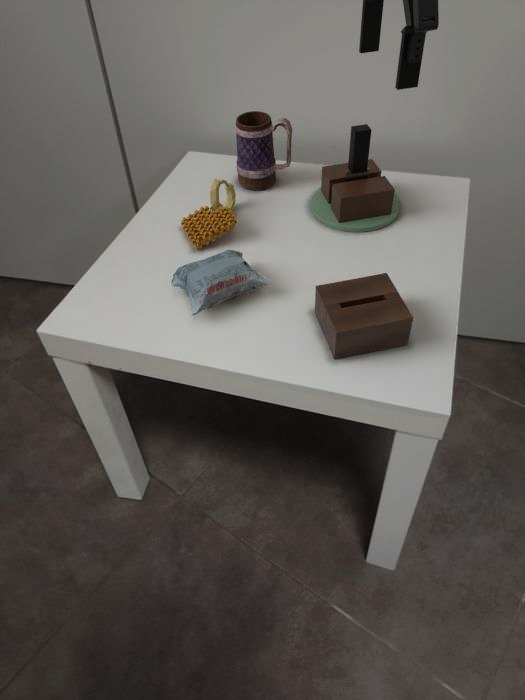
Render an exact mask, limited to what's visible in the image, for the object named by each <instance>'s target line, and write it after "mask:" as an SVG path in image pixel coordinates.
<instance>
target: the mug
mask: <svg viewBox="0 0 525 700" xmlns="http://www.w3.org/2000/svg"><path fill="white" fill-rule="evenodd" d="M278 127H282V128H283V129H284V130H285V132H286V135H287V136H286V162H285V163H277V162H276V157H275V147H274V135H273V132H276V131H277V128H278ZM235 135H236V157H237V158H236V171H237V180H238V184H239V185H240V186H241V187H242V188H244V189H246V190H250V191H263V190H266V189H268V188H270V187H271V186H273V185H274V184H275V183H276V180H277V174H276V172H277V171H284V170H286V169H287V168H289V167H290V166H291V163H292V138H293V126H292V123H291V121H290V120H289V119H287V118H286V117H284V118H279V119H278V120H275V122H274V124H273V121H272V117H271V115H270V114H269V113H267V112H264V111H260V110H252V111H246V112H243V113H241V114H239V115H238V116H237V117H236V119H235Z"/></svg>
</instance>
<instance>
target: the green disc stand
mask: <svg viewBox="0 0 525 700" xmlns="http://www.w3.org/2000/svg"><path fill="white" fill-rule="evenodd" d="M367 168H369V176H368V179H362V180H356V181H349V182H345V171H350V170H349V169H348V162H345V163H344V162H343V163H338V164H331V165H324V166H322V167H321V180H320V181H321V182H320V183H321V184H320V187H319V188H318V189H317V190H316V191H315V192H314V193H313V195H312V196H311V199H310V210H311V213H312V215H313V217H314V218H316V220H317V221H319V222H320V223H321V224H323V225H325V226H327V227H329V228H332V229H333V230H338V231H341V232H349V233H364V232H372V231H376V230H379V229H382V228H384V227H386V226H388V225H390V224H391V223H393V222H394V221H395V219H397V217H398V215H399V212H400V206H401V203H400V200H399V197H398V196H397V194H396V193H395V192H396V189H395V187H394V186H393V185H392V183H391V182H390V181H389V179H388V178H387V176H386V175H382V170H381V168H380V167H379V166H378V165H377V163H376V162H375V161H374V159H373V158H368V167H367Z"/></svg>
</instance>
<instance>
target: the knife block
mask: <svg viewBox="0 0 525 700" xmlns="http://www.w3.org/2000/svg"><path fill="white" fill-rule="evenodd" d="M314 290H315V294H314V315H315V317H316V320H317V322H318V324H319V327H320V329H321V332H322V333H323V337H324V339H325V341H326V344H327V345H328V348H329V351H330V353H331V355H332V357H333V359H334V360H337V359H343V358H348V357H349V358H350V357H353V356H359V355H364V354H368V353H374V352H378V351H384V350H389V349H393V348H394V349H395V348H397V347H403V346H407V345H408V343H409V340H410V334H411V330H412V326H413V322H414V316H413V314H412V313H411V311H410V310H409V308H408V306H407V304H406V303H405V301H404V299H403V298H402V296H401V295H400V293H399V291H398V289H397V288H396V286H395V284H394V283H393V281H392V279H391V278H390V276H389V274H388V273H387V272H384V273H378V274H373V275H368V276H361V277H357V278H351V279H346V280H339V281H335V282H330V283H324V284H317V285H315V289H314Z"/></svg>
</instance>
